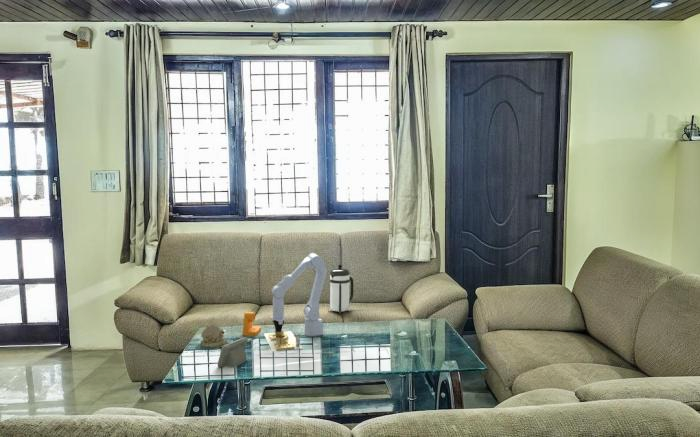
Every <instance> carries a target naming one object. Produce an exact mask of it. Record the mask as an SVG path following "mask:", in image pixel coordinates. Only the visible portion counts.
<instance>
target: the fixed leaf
mask: <svg viewBox="0 0 700 437" xmlns="http://www.w3.org/2000/svg"><path fill="white" fill-rule="evenodd" d="M274 347H275V349H276V351H275V352H279V350H281V351H289V350H288V349H291V350H296V349H295V347H294V345H293V344H292V342H288V336H286V335H278V336H276V343H275V344H274Z"/></svg>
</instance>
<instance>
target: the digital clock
mask: <svg viewBox="0 0 700 437" xmlns="http://www.w3.org/2000/svg"><path fill="white" fill-rule="evenodd" d="M248 339H249V338H248V337H247V336H244V337H243V336H242V337H241V338H238V339H237V340H234V341H232V342H230V343H227V344H226V345H224V346H222V347H221V351H220V354H219V357H218V360H217V367H218V368H223V367H228V368H231V369H232V368H236V367H238V366H240V365H242V364H245V363H247V351H246V348H247V345H248V342H249V340H248Z"/></svg>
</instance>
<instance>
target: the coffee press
mask: <svg viewBox="0 0 700 437" xmlns="http://www.w3.org/2000/svg"><path fill="white" fill-rule="evenodd" d="M350 275H351V272H350V270H349V269H348V268H346V267H343V266H342V265H341V264H338V266H337V267H335V268H332V269H331V270H330V271H329V277H330V278H329V306H328V309H327V312H328V313H330V312H331V311H334V312H338V315H339V316H342V312H346V311H348V312H349V313H351V312H352V310H350V308H351V306H350V305H351V304H350V301H352V300H353V298H354V279H353V277H351V276H350Z"/></svg>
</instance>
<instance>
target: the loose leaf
mask: <svg viewBox="0 0 700 437" xmlns="http://www.w3.org/2000/svg"><path fill="white" fill-rule="evenodd" d="M284 332H285V333H284ZM286 332H287V331H284V330H280V331H276V330H274V332H273V333H274V334H269V337H270V339H271V340H276V336H278V335H286V336H287V334H286Z"/></svg>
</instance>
